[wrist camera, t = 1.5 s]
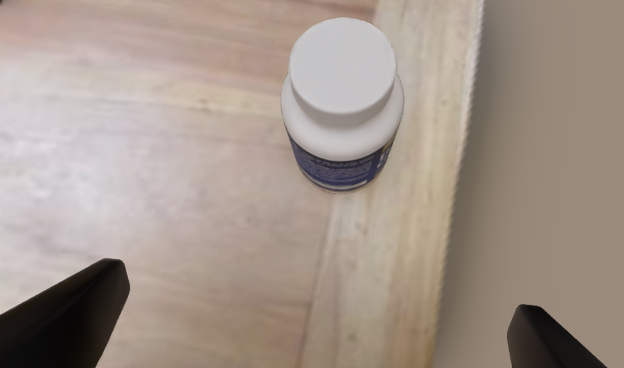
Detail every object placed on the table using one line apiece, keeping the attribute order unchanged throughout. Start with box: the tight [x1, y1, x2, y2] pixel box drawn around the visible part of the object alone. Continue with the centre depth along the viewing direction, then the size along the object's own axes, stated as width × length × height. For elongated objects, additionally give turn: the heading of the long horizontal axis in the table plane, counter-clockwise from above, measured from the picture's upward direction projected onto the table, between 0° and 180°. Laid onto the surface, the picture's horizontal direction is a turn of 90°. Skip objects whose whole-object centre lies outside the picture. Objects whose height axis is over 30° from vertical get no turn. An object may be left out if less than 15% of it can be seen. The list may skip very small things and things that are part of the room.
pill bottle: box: [281, 17, 404, 194], centre depth 19 cm, size 5×5×10 cm
